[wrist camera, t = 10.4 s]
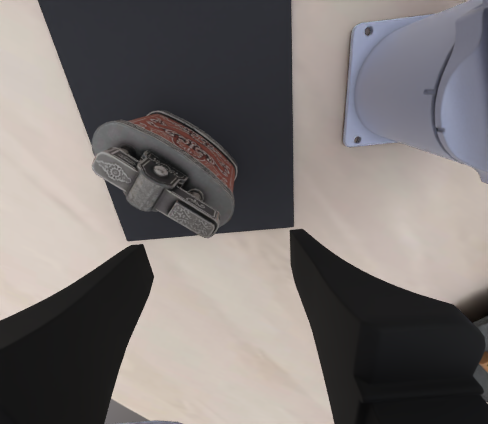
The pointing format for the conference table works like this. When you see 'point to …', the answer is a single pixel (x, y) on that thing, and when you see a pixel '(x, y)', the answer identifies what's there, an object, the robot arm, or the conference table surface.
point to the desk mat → (189, 89)
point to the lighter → (168, 169)
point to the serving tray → (483, 359)
